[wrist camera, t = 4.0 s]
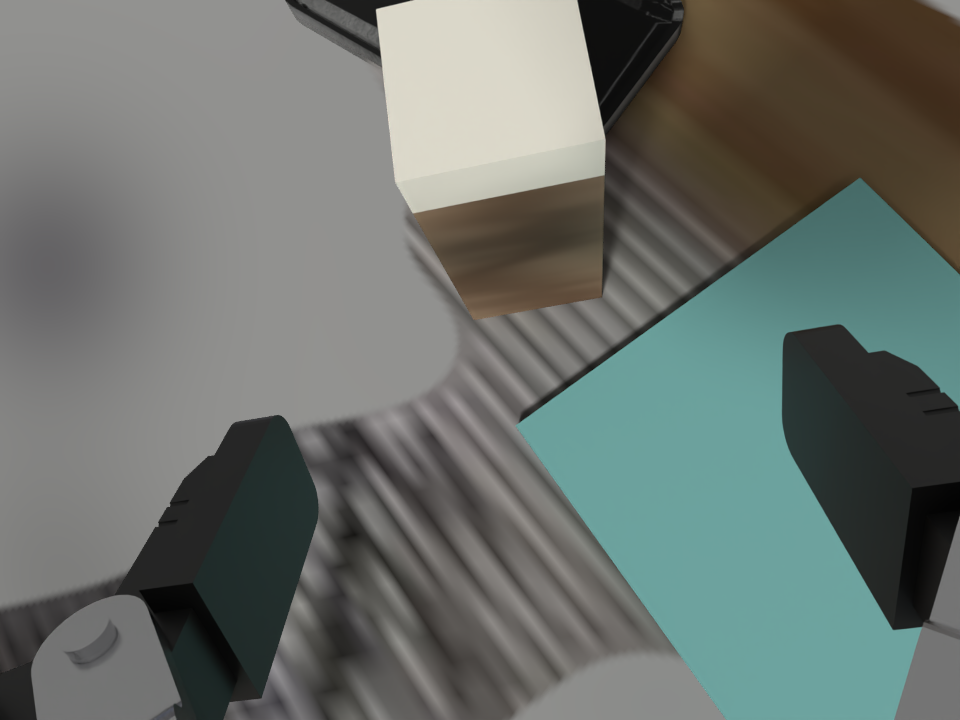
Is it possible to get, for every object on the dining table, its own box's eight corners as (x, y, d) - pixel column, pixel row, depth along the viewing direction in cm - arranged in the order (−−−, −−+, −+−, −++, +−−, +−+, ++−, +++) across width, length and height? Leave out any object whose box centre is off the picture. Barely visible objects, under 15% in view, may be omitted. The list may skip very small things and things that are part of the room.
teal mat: (517, 427, 23) (515, 425, 23) (854, 184, 23) (860, 177, 23) (915, 984, 18) (924, 996, 18) (1346, 668, 18) (1366, 671, 18)
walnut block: (474, 320, 24) (395, 182, 15) (458, 205, 26) (375, 9, 16) (601, 297, 24) (605, 138, 14) (579, 181, 25) (569, -37, 16)
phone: (572, 167, 24) (270, -7, 28) (573, 183, 26) (282, 12, 30) (698, 0, 25) (387, -147, 29) (694, 22, 26) (394, -123, 30)
